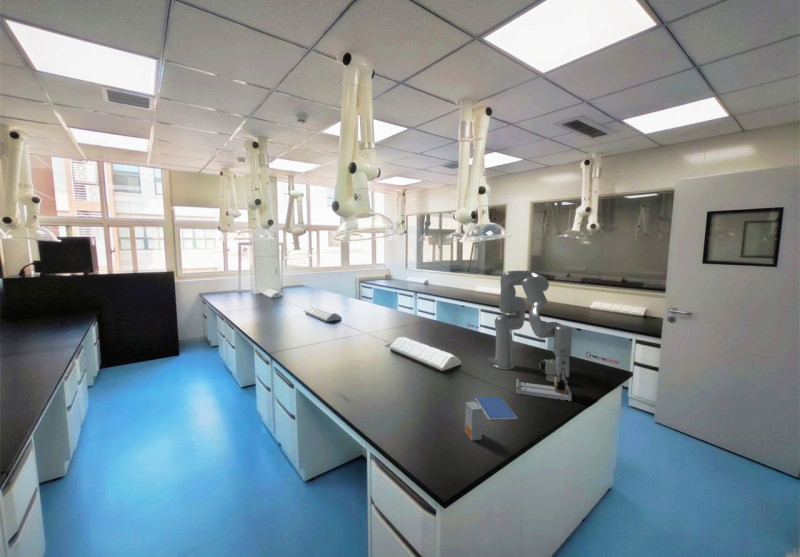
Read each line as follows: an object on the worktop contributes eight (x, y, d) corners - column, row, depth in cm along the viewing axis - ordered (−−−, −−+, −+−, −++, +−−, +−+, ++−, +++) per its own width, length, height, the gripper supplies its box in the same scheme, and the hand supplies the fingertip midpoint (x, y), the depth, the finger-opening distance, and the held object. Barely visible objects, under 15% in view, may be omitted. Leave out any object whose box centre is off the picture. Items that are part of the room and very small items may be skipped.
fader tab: (555, 391, 152) (555, 379, 151) (554, 388, 155) (554, 376, 155) (566, 393, 150) (567, 380, 150) (565, 390, 154) (566, 377, 153)
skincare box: (464, 432, 121) (465, 402, 120) (474, 430, 122) (475, 400, 121) (471, 441, 115) (472, 409, 114) (482, 439, 116) (483, 408, 115)
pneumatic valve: (564, 383, 166) (565, 361, 165) (540, 381, 169) (541, 359, 168) (561, 379, 172) (562, 358, 171) (538, 377, 175) (539, 356, 174)
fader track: (516, 393, 155) (516, 386, 155) (516, 385, 164) (516, 378, 164) (571, 401, 147) (571, 393, 147) (567, 392, 156) (567, 385, 156)
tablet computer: (518, 420, 131) (518, 417, 131) (488, 421, 130) (488, 418, 130) (500, 399, 150) (500, 396, 150) (474, 399, 149) (474, 397, 149)
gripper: (574, 357, 142) (572, 396, 144) (568, 347, 158) (566, 382, 159) (555, 355, 145) (554, 394, 146) (551, 345, 160) (549, 380, 162)
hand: (560, 387), depth 153 cm, fingers closed on fader tab, 3 cm apart
